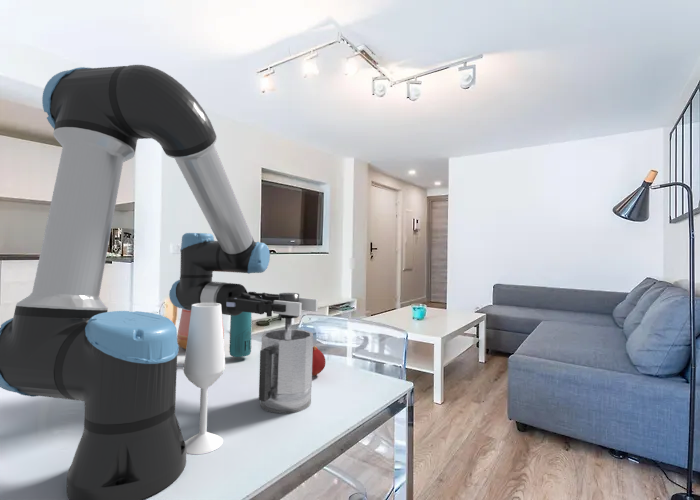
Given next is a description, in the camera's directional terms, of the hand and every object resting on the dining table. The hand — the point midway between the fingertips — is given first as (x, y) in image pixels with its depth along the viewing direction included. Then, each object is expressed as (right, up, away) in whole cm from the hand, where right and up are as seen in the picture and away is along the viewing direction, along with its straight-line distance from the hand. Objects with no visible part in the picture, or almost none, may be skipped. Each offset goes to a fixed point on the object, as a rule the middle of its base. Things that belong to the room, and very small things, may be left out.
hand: (308, 307), depth 80 cm
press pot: (-6, -21, +1) cm, 22 cm away
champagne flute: (-17, -21, -16) cm, 31 cm away
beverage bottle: (-25, -21, +33) cm, 46 cm away
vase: (-41, -20, +43) cm, 63 cm away
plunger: (-5, -17, +2) cm, 18 cm away
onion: (-1, -22, +20) cm, 29 cm away
